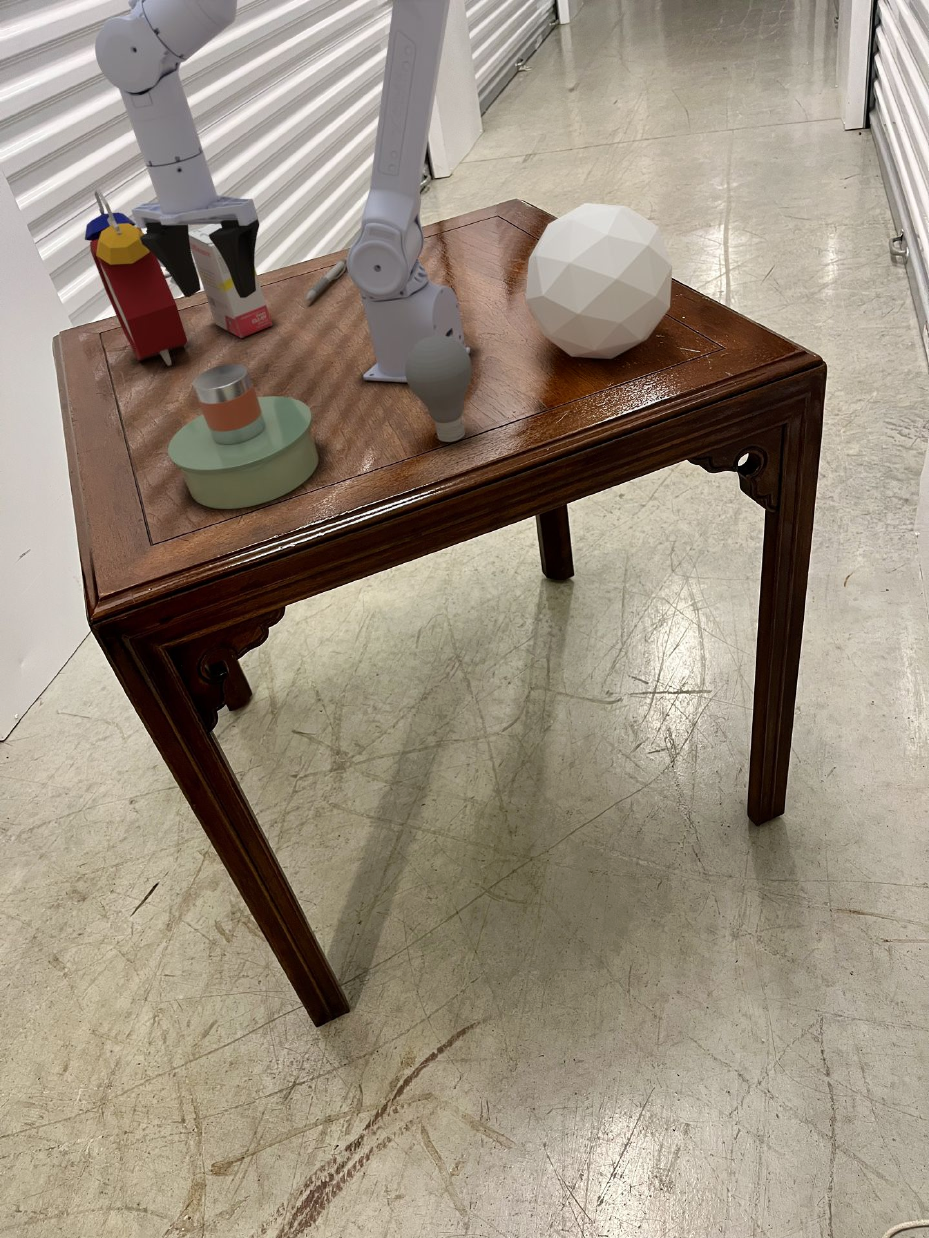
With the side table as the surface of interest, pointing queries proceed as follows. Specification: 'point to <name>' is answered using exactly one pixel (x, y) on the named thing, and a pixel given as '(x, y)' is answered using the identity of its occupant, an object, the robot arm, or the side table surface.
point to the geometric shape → (599, 280)
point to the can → (229, 404)
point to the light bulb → (441, 382)
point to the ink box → (226, 289)
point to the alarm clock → (135, 284)
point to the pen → (327, 279)
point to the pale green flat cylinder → (248, 457)
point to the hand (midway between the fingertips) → (220, 293)
